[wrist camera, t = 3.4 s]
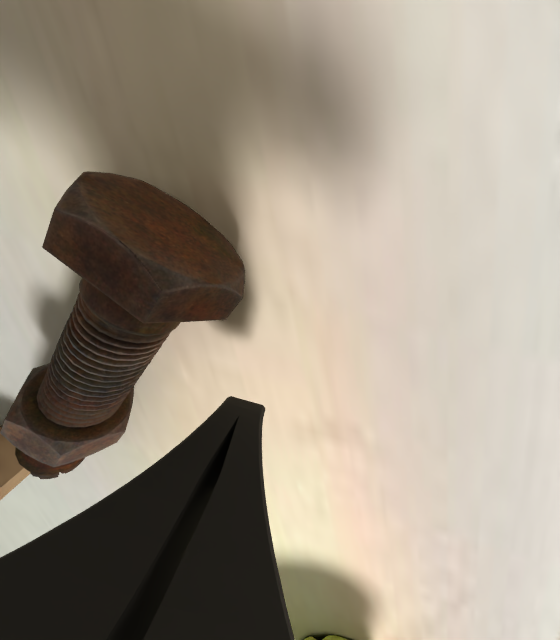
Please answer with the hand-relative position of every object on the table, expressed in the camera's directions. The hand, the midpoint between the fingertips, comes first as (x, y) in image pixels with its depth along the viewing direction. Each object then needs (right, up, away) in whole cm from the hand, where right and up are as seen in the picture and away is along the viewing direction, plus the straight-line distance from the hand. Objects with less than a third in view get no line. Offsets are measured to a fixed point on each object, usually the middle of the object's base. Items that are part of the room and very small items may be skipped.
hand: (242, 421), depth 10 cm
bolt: (-6, +3, +4) cm, 8 cm away
